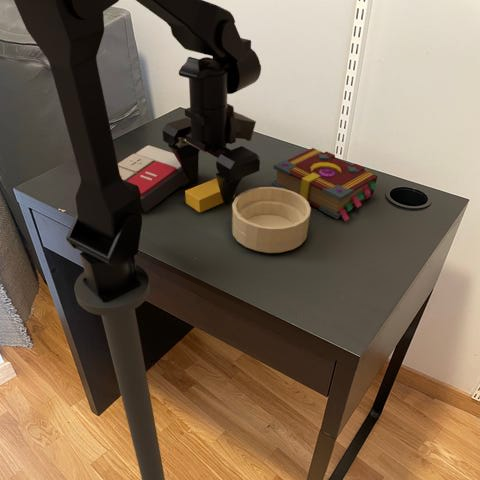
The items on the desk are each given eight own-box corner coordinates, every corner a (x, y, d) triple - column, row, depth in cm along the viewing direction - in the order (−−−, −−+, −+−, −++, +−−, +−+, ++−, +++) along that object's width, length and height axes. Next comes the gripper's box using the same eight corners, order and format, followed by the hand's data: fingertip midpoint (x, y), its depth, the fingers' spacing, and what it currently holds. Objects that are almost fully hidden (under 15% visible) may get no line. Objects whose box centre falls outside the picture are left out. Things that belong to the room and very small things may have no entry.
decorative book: (310, 168, 95) (313, 143, 92) (379, 200, 87) (385, 174, 84) (271, 187, 89) (273, 162, 86) (341, 223, 81) (346, 197, 78)
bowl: (268, 266, 73) (270, 238, 69) (216, 230, 79) (216, 203, 75) (322, 236, 78) (326, 209, 75) (270, 205, 85) (272, 179, 81)
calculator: (91, 176, 83) (147, 141, 92) (97, 198, 86) (150, 161, 95) (141, 195, 79) (194, 156, 88) (144, 217, 82) (196, 177, 91)
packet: (199, 212, 83) (199, 200, 81) (185, 203, 85) (185, 190, 83) (234, 197, 86) (235, 185, 85) (220, 188, 89) (220, 176, 87)
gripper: (289, 108, 73) (280, 200, 84) (211, 75, 82) (212, 161, 93) (233, 128, 67) (231, 223, 78) (156, 89, 77) (165, 178, 88)
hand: (210, 193), depth 85 cm, fingers open, 9 cm apart
